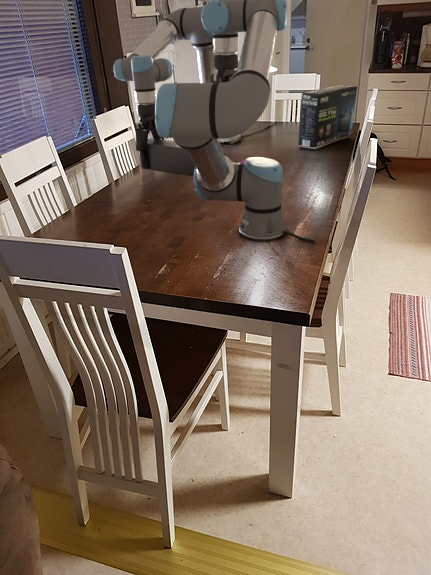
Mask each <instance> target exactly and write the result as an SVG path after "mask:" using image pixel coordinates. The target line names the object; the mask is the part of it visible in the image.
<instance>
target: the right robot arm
mask: <svg viewBox="0 0 431 575" xmlns="http://www.w3.org/2000/svg"><path fill="white" fill-rule="evenodd" d="M203 7H204V8H203V10H202V14H201V19H202V23H203V26H204V27H205V28H206V30H208V31H209V32H211V33H213V52H214V53H215V55H214V56H213V62H214V68H215V69H217V70H218V73H217V74H212V76H211V83H200V82H177V81H174V82H166V83H163V84H161V85H160V87H159V88H158V90H157V92H156V102H155V103H156V105H155V122H156V129H157V133H158V135H159V136H160V137H162V138H164V139H165V140H169V139H173V141H175V142H176V143H177V144H178V145H179V146H180V147H182V148H183V149H186V150H187V152H188V153H189V155H190V157H191V159H192V161H193V162H194V164H195V166H196V167H195V170H194V176H193V187H194V191H195V194H196V196H197V198H199V199H201V200H205V201H208V202H211V201H224V202H244V211H243V213H242V216H241V220H240V222H239V226H238V232H239V235H240V236H241V237H242V238H244V239H247V240H250V241H254V242H271V241H277V240H279V239H281V238H283V237H285V235H287V236H289V237H292V238H294V239H298V240H300V241H303V242H307V243H313V244H314V243H315V239H312V238H307V237H302V236H300V235H298V234H295V233H292V232H289V231H287V223H286V221H285V216H284V214H283V210H282V200H283V182H284V177H283V176H284V175H283V173H284V172H283V171H284V170H283V166H282V164H280V162H278V161H276V160H275V159H272V158H268V157H261V156H254V157H253V156H252V157H248V158H245V159H244V161H245V162H244V163H241V162H233V161H232V159H230V158H229V157H228V156H227V155H226V154H224V151H223V147H222V145H221V142H220V143H219V140H218V139H226V138H232V137H235V136H237V135H239V134H241V133H245V132H246V131H248V130H249V129H250V128H251V127H252V126H254V125H255V124H256V122H257V121H258V120H259V119H260V118H261V116H262V115H263V113H264V111H265V110H266V108H267V106H268V104H269V100H270V95H271V83H270V81H269V76H270V71H271V65H272V59H273V54H274V47H275V41H276V36H277V32H279V31H280V32H281V31H285V29H286V28H287V24H288V1H287V0H210V1H208V2H207V3H206V4H204V6H203ZM239 33H245V35H244V39H243V43H242V47H241V52H240V51H239V50H240V49H239ZM238 52H240V56H239V55H238Z"/></svg>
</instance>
